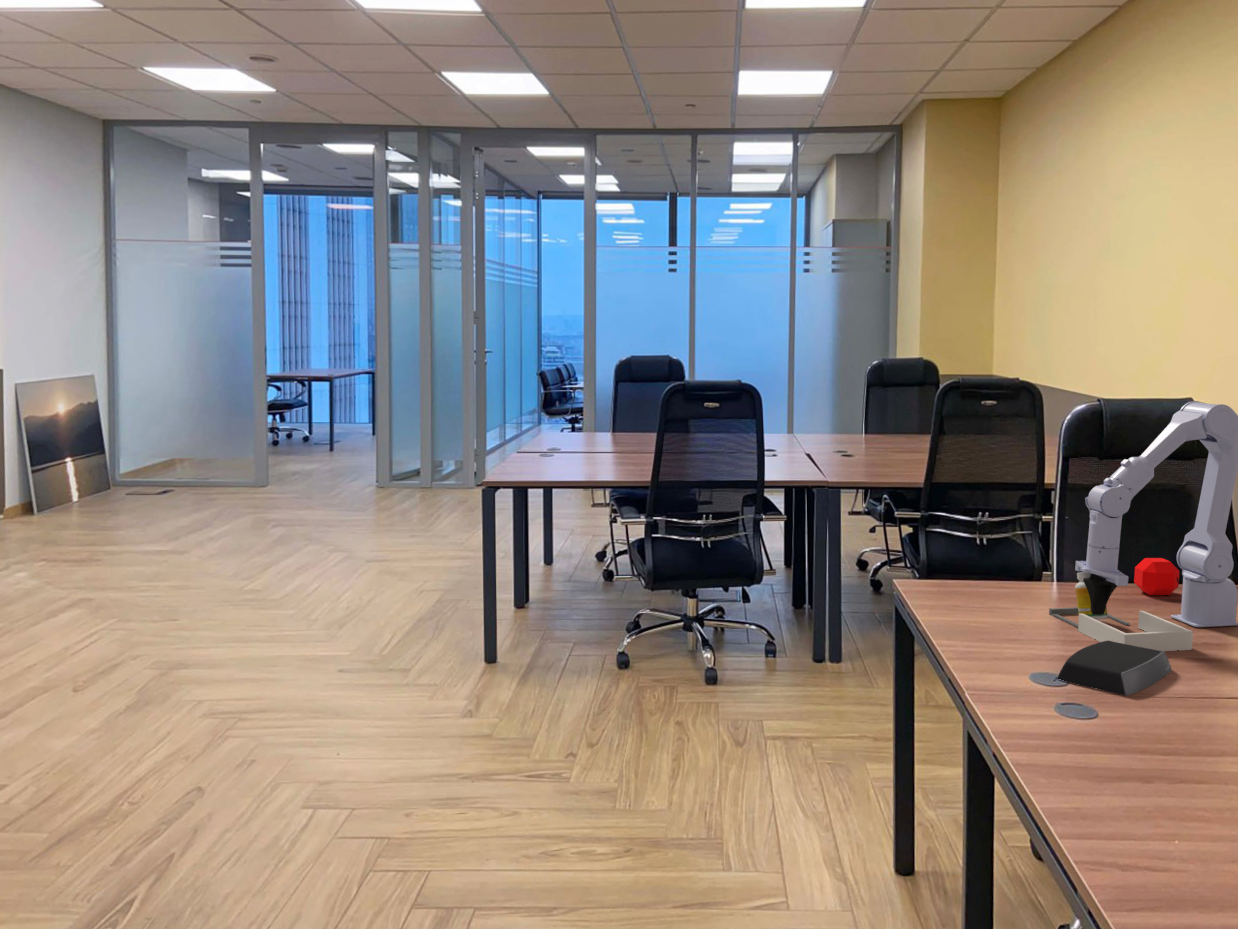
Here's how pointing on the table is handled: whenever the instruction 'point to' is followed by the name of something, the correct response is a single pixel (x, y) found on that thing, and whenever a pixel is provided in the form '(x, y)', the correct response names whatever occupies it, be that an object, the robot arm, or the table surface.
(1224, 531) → the robot arm
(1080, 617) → the bay
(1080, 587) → the supplement bottle
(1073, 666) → the external hard drive
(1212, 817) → the table surface
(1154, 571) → the ball
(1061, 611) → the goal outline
